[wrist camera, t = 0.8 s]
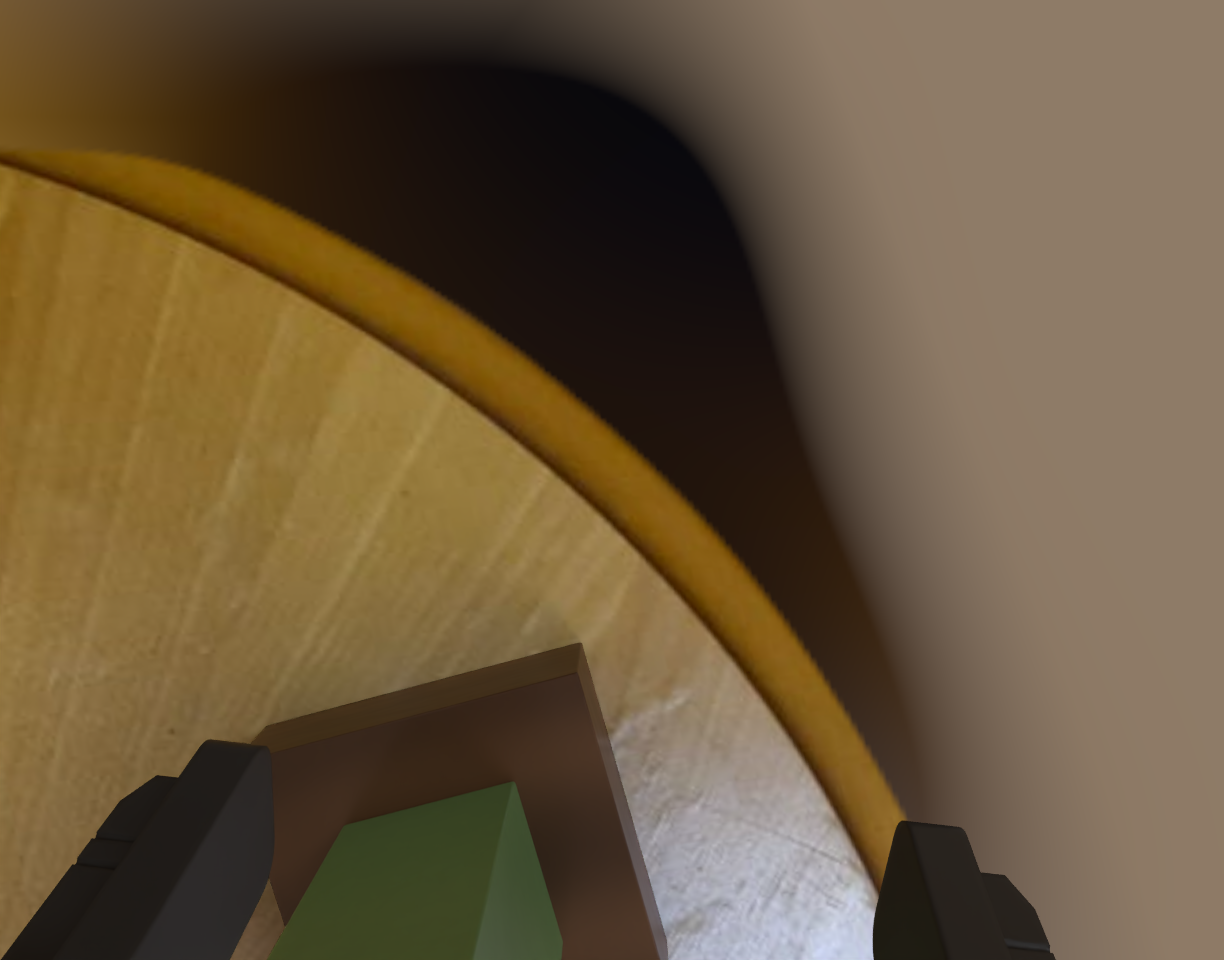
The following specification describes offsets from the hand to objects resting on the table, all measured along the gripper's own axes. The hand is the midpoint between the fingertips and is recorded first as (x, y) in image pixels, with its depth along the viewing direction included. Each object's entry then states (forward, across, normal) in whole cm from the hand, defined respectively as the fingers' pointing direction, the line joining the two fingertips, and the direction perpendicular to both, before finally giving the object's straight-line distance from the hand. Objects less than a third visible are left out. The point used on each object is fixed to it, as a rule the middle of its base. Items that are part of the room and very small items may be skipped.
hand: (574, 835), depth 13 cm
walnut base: (+15, +4, +14) cm, 21 cm away
